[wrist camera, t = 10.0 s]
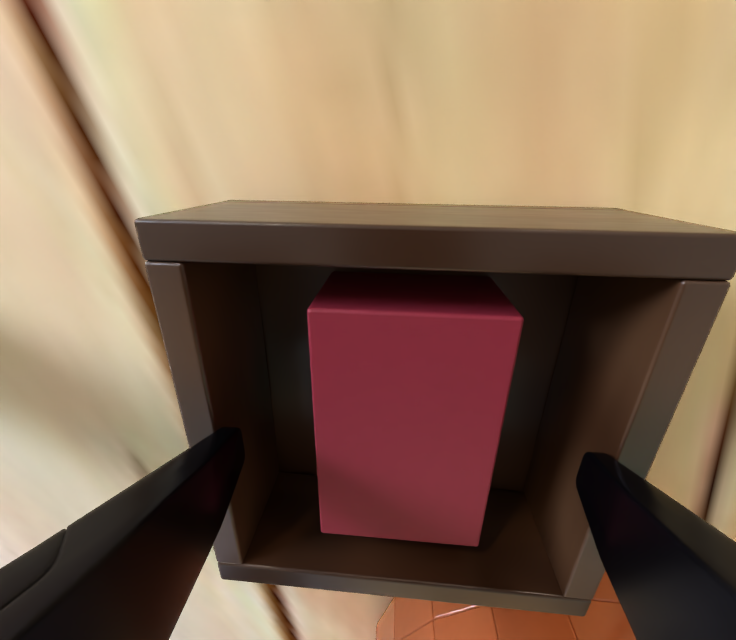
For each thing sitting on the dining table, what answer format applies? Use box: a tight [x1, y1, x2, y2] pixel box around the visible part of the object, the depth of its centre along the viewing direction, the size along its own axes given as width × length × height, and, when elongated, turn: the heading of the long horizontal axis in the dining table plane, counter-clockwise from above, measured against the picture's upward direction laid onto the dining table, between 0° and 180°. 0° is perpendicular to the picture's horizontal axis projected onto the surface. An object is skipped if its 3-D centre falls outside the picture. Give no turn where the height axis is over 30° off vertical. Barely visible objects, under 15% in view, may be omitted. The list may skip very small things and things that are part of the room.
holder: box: [135, 200, 736, 616], centre depth 10 cm, size 11×11×4 cm
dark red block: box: [307, 271, 524, 547], centre depth 10 cm, size 7×4×3 cm, turn 179°
